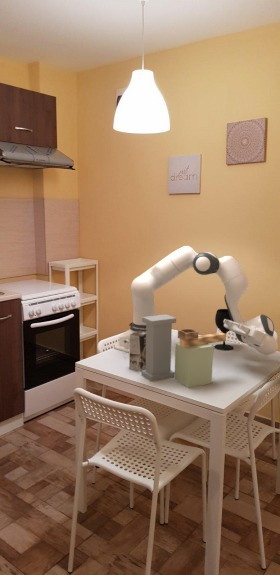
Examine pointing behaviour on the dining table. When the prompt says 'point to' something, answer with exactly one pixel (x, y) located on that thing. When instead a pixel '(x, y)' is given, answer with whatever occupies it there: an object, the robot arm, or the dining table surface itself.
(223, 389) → the dining table surface
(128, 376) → the dining table surface
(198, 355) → the box
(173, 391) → the dining table surface
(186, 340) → the catapult arm
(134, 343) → the coffee box
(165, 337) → the tower
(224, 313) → the wine glass
